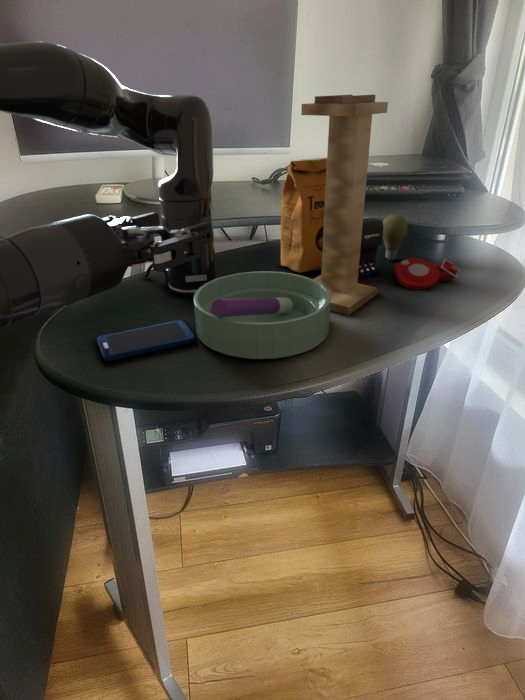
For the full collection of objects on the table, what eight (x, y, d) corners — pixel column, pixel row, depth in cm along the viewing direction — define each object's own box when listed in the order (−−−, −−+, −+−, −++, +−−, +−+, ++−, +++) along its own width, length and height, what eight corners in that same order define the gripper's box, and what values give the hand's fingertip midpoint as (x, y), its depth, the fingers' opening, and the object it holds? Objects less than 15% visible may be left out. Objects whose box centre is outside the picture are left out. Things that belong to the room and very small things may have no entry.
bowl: (168, 336, 76) (164, 301, 73) (250, 294, 91) (249, 263, 88) (279, 377, 65) (279, 338, 62) (352, 321, 79) (355, 287, 77)
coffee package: (348, 269, 102) (357, 159, 91) (297, 279, 97) (300, 163, 86) (323, 256, 110) (329, 153, 99) (275, 264, 105) (275, 157, 94)
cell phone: (96, 340, 74) (95, 336, 74) (182, 323, 79) (182, 319, 79) (104, 362, 69) (103, 357, 68) (196, 341, 74) (196, 337, 73)
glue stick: (223, 319, 66) (227, 301, 66) (209, 314, 68) (213, 296, 67) (290, 314, 81) (294, 300, 80) (278, 310, 82) (282, 295, 82)
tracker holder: (416, 288, 89) (383, 261, 95) (413, 306, 92) (381, 278, 98) (467, 264, 92) (431, 239, 98) (463, 282, 95) (428, 257, 101)
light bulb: (384, 254, 110) (389, 210, 105) (407, 259, 107) (413, 213, 102) (373, 260, 107) (377, 215, 102) (396, 265, 103) (402, 219, 99)
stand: (289, 299, 88) (293, 96, 72) (320, 281, 96) (329, 94, 80) (348, 315, 82) (366, 96, 66) (376, 295, 89) (398, 94, 73)
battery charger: (353, 280, 96) (358, 223, 91) (342, 274, 99) (346, 218, 94) (381, 274, 99) (387, 218, 93) (370, 269, 102) (375, 214, 96)
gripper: (103, 235, 40) (227, 200, 51) (10, 213, 47) (137, 187, 58) (117, 318, 43) (231, 267, 55) (29, 285, 51) (145, 247, 62)
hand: (182, 225), depth 57 cm, fingers open, 8 cm apart
